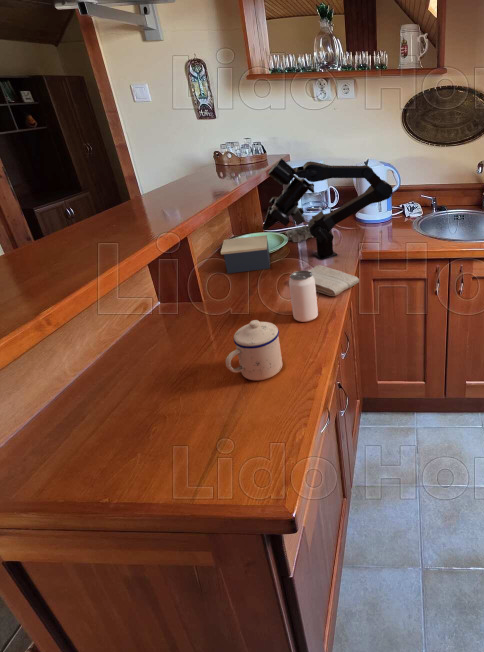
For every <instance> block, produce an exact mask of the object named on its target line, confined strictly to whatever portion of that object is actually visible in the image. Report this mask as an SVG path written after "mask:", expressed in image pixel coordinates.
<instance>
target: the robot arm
mask: <svg viewBox="0 0 484 652" xmlns="http://www.w3.org/2000/svg"><path fill="white" fill-rule="evenodd" d="M267 175H268V176H270V177H271V178H272V179H273V180H275V181H276V182H277V183H278V184H279V185H281V186H284V185H285V186H287V187H286V188H285V189H283V190H282V191H281V194H280V195H279V196H272V197H271V199H270V200H269V204H273V205H272V206H270V205H269V206H268V209H267V212H266V215H265V218H264V222H263V225H262V230H263V231H267V230H268V229H270V228H271V227H273V226H274V225H276V224H277V223H281V224H282V225H283V226H284V227H287V226H288V224H290V222H291V221H290V217H291V218H292V220H293V221H294V222H295V225H296V226H299V225H301V224H303V223H304V222H306V220H305V217H304V213H305V210H304V209H303V207H299V202H300V200H301V199H302V198H303V197H304V196H305V194H307V192H308V191H309V192H311V193H312V194H314V193H315V183H317V182H323V181H327V180H329V179H365V181H367V182H368V184H369V186H368V187H367V189H365V191H364V192H363V193H361V194H360V195H358V196H356V197H354V198H353V199H351V200H349V201H347V202H346V203H344V204H342V205H340V206H339V207H337V208H335V209H334V210H332V211H330V212H327V213H324V211H323V210H322V211H319V212H318V213H317V214H314V215H311V219H309V220H308V223H307V226H308V228H309V230H310V233H311V235H312V236H313V238H315V245H316V251H315V252H313V255H314V256H315V257H317V258H318V259H319V260H325V259H329V258H332V257H336V256H338V253H336V252H335V251H334V245H333V241H334V234H333V232H332V230H333V228H335V226H336V225H337V224H339V223H341V222H342V221H344V220H346V219H348V218H349V217H351V216H353V215H354V214H356V213H358V212H359V211H361V210H363V209H365V208H366V207H368V206H370V205H372V204H376V203H382V202H384V201H386V200H388V199H390V198H391V197H392V196H393V192H394V190H393V186H392V185H391V184H390V183H388V182H387V181H386V180H384V179H381V178H380V176H379V175H378V174H377V173H376V172H375V171H374V170H373V168H372V167H371V166H369V165H367V164H366V165H365V164H364V165H330V164H325V163H321V162H317V161H311V160H310V161H307V162H305V163H304V164H303V165H301V166H296V167H293V166H291V165H290V164H289V163H287V161H286V160H285V159H284V158H279V160H278V161H277V162H276V163H275V164H273V165H272V166H271V167H270V169H269V171H268V172H267Z"/></svg>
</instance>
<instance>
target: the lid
mask: <svg viewBox="0 0 484 652" xmlns="http://www.w3.org/2000/svg"><path fill="white" fill-rule="evenodd" d="M267 241H268V235H257V236H247V237H238V238H228V239H223V242H222V246H221V249H220V255H224V254H231V253H240V252H249V251H258V250H267Z"/></svg>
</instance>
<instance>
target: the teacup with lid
mask: <svg viewBox="0 0 484 652" xmlns="http://www.w3.org/2000/svg"><path fill="white" fill-rule="evenodd" d="M279 336H280V330H279V328H278V326H277V325H275V324H274V323H272V322H268V321H259V320H258V319H254V320H253V319H252V320H251V321H250V322H249V323H248V324H245V325H243V326H241V327H240V328H238V329H237V330H236V332H235V333H234V335H233V343H234V344H235V347H236V349H235V350H233V351H231V352H230V353H229V354H228V355H227V357H226V358H225V366H226V368H227V370H228V371H230V372H232V373H234V374H235V373H236V374H237V373H241V375H242V376H243V377H244V378H245V379H247V380H250V381H264V380H268V379H270V378H272V377H274V376H275V375H277V374H279V373H280V371H281V370H282V368H283V358H282V351H281V345H280V338H279ZM236 356H237V357H238V361H239V366H237V367H233V366H232V361H233V359H234V358H235V357H236Z"/></svg>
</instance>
